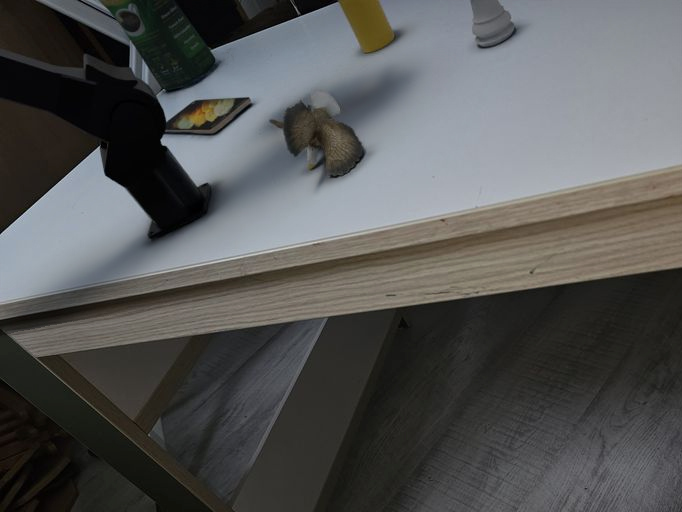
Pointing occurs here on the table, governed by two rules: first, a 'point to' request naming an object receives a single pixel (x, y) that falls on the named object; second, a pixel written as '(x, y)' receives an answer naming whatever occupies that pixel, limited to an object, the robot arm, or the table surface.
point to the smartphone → (206, 115)
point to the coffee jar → (164, 40)
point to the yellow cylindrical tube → (368, 23)
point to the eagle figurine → (320, 133)
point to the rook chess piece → (490, 22)
